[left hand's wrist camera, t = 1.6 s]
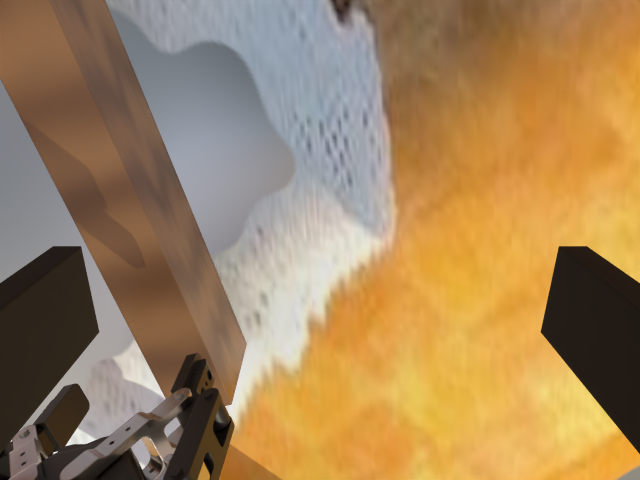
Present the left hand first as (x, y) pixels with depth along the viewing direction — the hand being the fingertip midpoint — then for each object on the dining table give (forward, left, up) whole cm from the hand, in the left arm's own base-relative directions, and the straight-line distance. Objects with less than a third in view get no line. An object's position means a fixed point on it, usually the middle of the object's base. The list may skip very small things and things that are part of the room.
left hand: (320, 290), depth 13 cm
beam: (+2, -17, -27) cm, 32 cm away
